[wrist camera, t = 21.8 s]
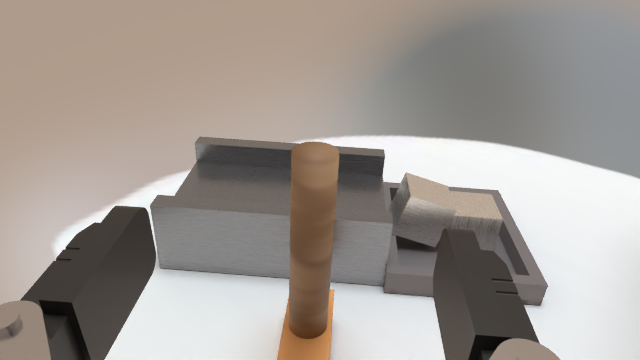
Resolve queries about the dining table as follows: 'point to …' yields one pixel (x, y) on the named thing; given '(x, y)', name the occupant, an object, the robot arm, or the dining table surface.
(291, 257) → the wooden post on base
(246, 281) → the dining table surface
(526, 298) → the tray
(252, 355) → the dining table surface
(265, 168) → the slot board
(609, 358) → the dining table surface
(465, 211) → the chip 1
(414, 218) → the chip
